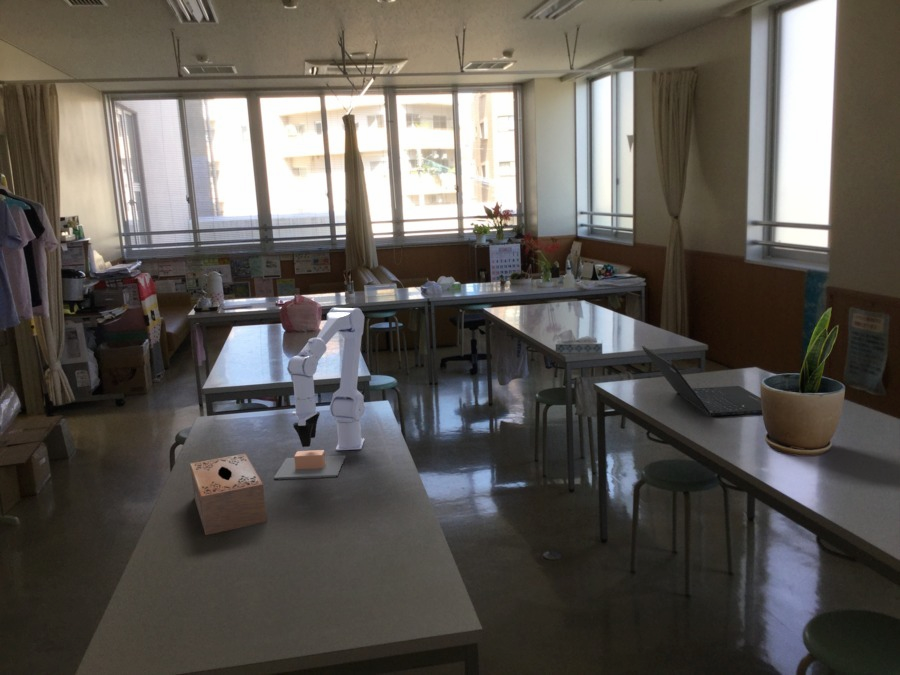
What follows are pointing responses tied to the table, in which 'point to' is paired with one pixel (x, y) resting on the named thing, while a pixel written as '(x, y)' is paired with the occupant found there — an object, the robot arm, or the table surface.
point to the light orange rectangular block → (309, 459)
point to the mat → (328, 470)
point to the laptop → (709, 392)
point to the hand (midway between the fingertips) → (308, 441)
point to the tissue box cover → (228, 493)
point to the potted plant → (804, 400)
